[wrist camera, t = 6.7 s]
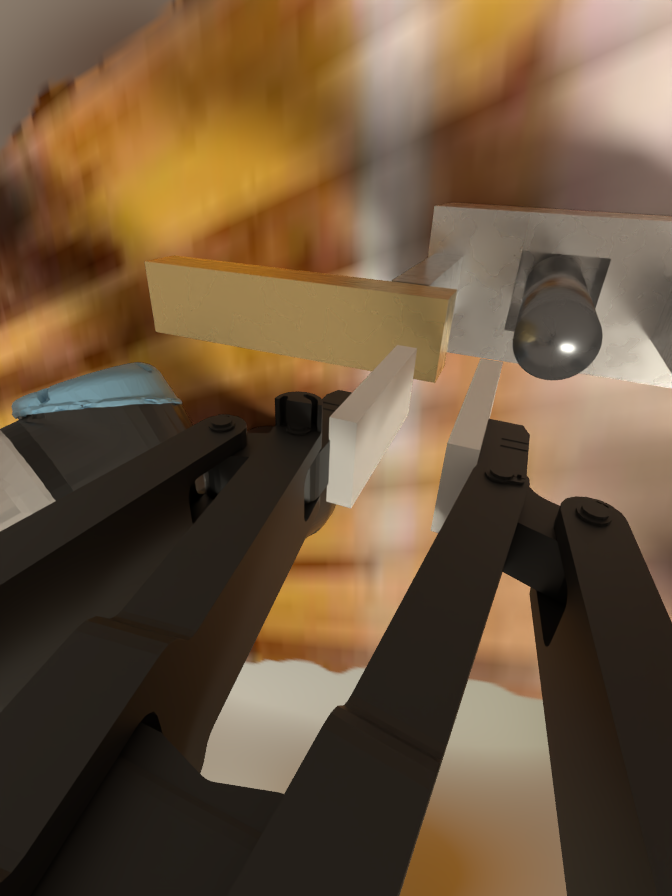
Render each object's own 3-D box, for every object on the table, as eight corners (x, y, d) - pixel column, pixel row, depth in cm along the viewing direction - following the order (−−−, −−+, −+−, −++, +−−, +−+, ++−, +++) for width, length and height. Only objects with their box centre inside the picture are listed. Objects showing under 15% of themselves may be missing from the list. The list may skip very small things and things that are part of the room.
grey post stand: (433, 325, 42) (371, 401, 28) (451, 202, 37) (388, 215, 23) (655, 357, 37) (725, 472, 22) (713, 218, 32) (852, 250, 17)
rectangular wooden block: (182, 321, 30) (155, 331, 28) (173, 255, 28) (144, 261, 26) (444, 366, 25) (434, 382, 23) (457, 289, 23) (448, 299, 21)
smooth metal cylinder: (520, 306, 37) (504, 372, 24) (533, 253, 35) (523, 294, 22) (573, 313, 36) (587, 386, 23) (590, 258, 34) (615, 305, 21)
